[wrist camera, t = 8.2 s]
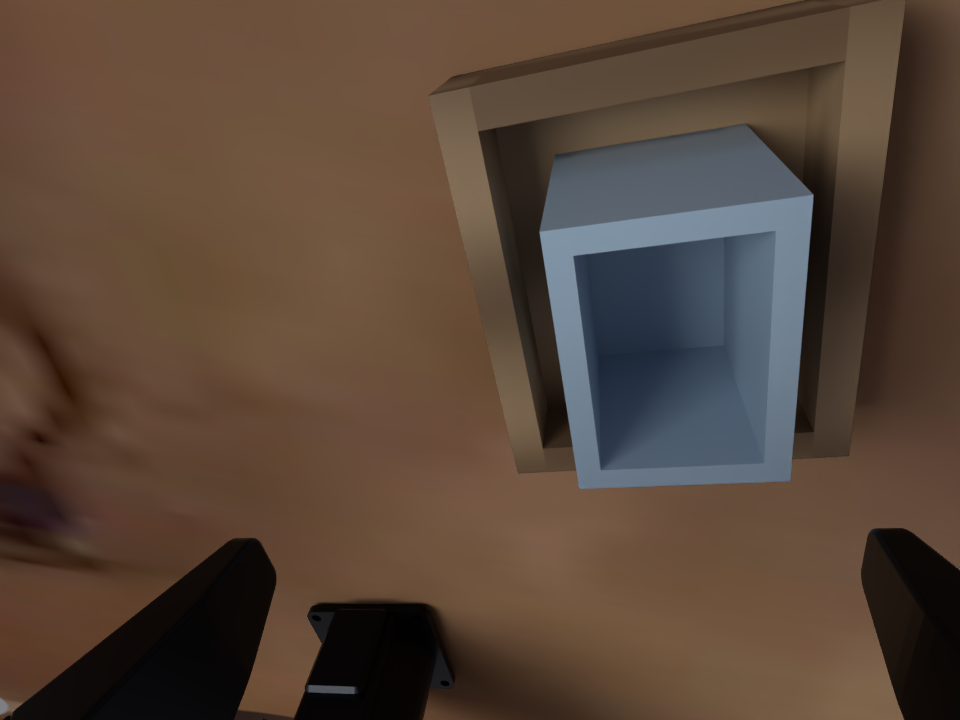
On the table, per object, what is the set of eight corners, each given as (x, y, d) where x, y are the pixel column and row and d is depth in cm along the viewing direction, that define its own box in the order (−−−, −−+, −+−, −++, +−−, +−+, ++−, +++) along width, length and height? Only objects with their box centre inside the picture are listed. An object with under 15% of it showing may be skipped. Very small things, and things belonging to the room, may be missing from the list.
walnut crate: (818, 396, 21) (849, 456, 18) (525, 418, 23) (517, 473, 21) (852, -10, 15) (906, -6, 12) (452, 76, 17) (428, 95, 15)
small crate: (740, 349, 20) (790, 481, 15) (582, 362, 21) (579, 488, 16) (745, 123, 16) (813, 194, 11) (554, 154, 17) (539, 231, 12)
